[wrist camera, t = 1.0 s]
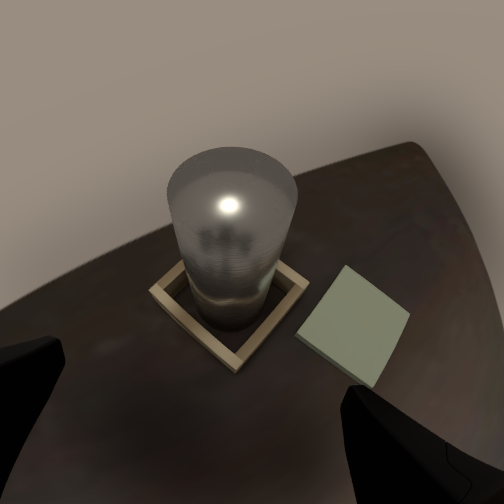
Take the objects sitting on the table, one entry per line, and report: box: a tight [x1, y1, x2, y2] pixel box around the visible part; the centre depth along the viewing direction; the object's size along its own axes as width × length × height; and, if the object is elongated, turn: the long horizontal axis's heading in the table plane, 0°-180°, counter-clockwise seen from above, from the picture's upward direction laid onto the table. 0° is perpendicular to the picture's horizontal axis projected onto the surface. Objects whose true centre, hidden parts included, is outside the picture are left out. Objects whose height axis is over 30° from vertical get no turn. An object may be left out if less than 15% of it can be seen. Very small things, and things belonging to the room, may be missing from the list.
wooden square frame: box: [149, 259, 310, 374], centre depth 21 cm, size 9×9×2 cm
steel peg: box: [167, 147, 298, 332], centre depth 17 cm, size 6×6×13 cm
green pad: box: [294, 265, 410, 388], centre depth 21 cm, size 8×8×1 cm
